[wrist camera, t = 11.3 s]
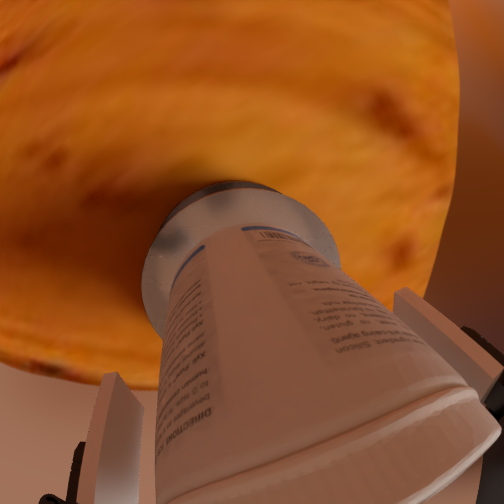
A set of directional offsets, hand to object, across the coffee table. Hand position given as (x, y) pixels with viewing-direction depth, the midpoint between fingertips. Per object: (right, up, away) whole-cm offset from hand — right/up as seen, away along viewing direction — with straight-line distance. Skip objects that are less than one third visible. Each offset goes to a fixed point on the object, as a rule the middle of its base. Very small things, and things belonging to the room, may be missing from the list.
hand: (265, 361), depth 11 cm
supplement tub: (-1, +2, +6) cm, 6 cm away
